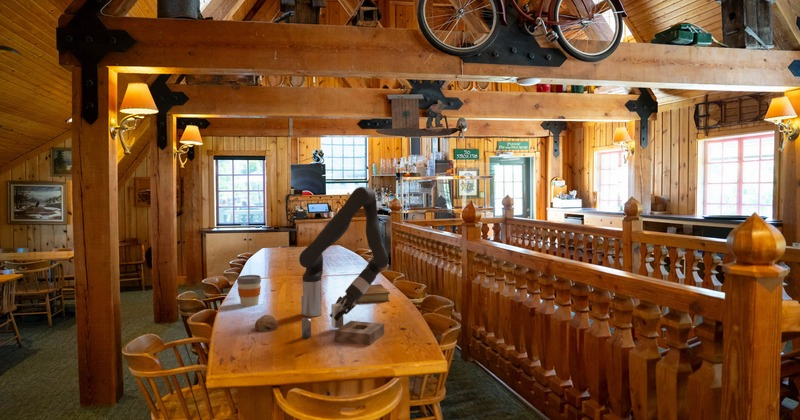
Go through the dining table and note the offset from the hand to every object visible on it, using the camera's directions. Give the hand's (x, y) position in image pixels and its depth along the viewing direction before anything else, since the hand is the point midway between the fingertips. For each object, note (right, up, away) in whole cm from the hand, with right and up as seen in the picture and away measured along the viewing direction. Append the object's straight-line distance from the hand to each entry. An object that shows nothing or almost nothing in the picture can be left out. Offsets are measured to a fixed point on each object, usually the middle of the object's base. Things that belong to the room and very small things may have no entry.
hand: (333, 318), depth 232 cm
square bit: (+2, -4, +1) cm, 5 cm away
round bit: (-10, -6, -9) cm, 15 cm away
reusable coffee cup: (-52, -3, +50) cm, 72 cm away
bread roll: (-31, -6, +5) cm, 32 cm away
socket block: (+13, -6, -10) cm, 17 cm away
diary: (+12, -2, +63) cm, 65 cm away
